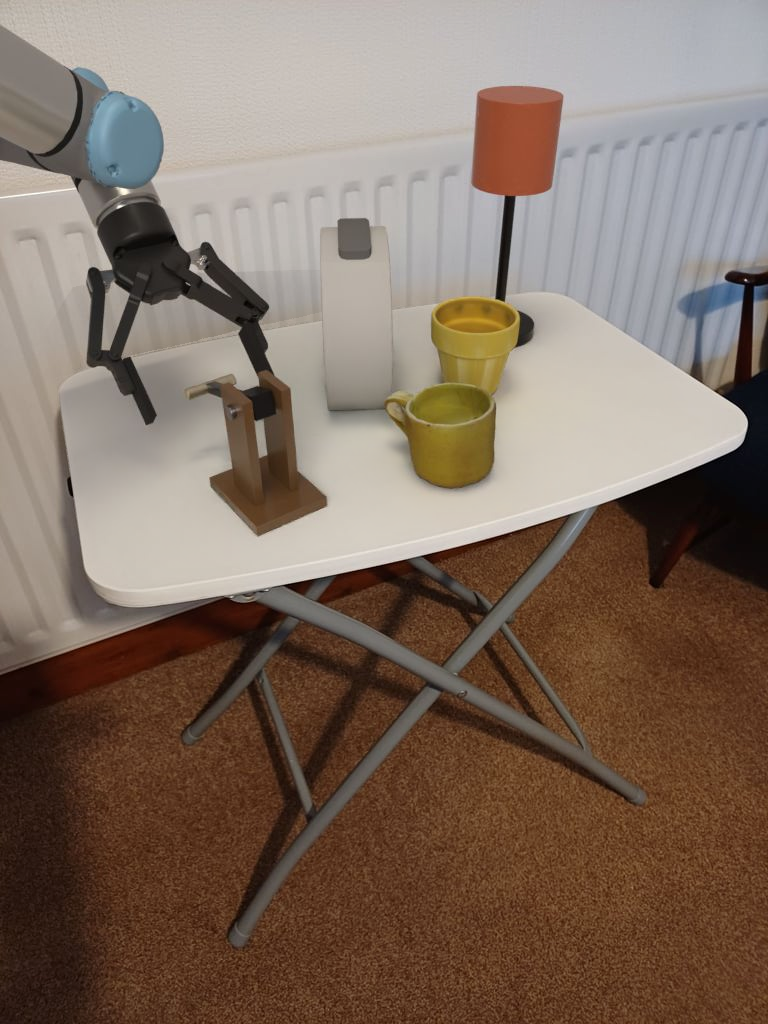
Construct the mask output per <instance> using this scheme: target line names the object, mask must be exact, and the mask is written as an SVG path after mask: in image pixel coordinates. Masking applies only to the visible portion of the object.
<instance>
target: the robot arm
mask: <svg viewBox="0 0 768 1024" xmlns="http://www.w3.org/2000/svg"><path fill="white" fill-rule="evenodd" d="M107 85H108V84H107V83H106V82H105V80H104V79H103V78H102V76H100V75H99V74H98V73H96V72H95V71H93V70H91V69H88V68H84V67H79V66H77V67H75V68H74V69H70V68H69V67H67V66H66V65H63V64H62V63H61V62H59V61H57V60H56V59H54V58H53V57H52V56H50V55H48V54H47V53H45V52H43V51H42V50H40V49H39V48H37V47H36V46H34V45H33V44H31V43H29V42H28V41H27V40H25V39H23V38H22V37H20V35H17V34H16V33H14V32H13V31H11V30H10V29H8V28H6V27H5V26H3V25H2V24H0V161H1V162H7V163H13V164H17V165H19V166H23V167H24V166H25V167H28V168H33V169H37V170H41V171H45V172H51V173H55V174H61V175H64V176H67V177H70V178H71V180H72V183H73V184H74V186H75V189H76V191H77V193H78V195H79V197H80V198H81V201H82V203H83V206H84V207H85V210H86V213H87V214H88V217H89V219H90V221H91V224H92V225H93V227H94V228H95V229H96V234H97V237H98V239H99V241H100V244H101V246H102V249H103V250H104V252H105V254H106V257H107V259H108V261H109V263H110V265H111V267H112V268H111V269H105V270H100V269H99V268H97V267H95V266H91V267H89V268H88V270H87V275H86V280H85V284H86V288H87V291H88V294H89V297H90V306H89V307H90V309H89V321H88V335H87V349H86V359H85V361H86V365H87V366H88V367H89V368H92V369H94V368H97V367H104V368H106V369H107V370H108V372H109V371H110V372H111V375H112V377H113V379H114V381H115V383H116V386H117V388H118V390H119V393H120V394H121V395H123V397H127V396H130V395H132V397H133V400H134V402H135V404H136V406H137V408H138V411H139V413H140V415H141V417H142V420H143V422H144V424H145V426H148V425H152V424H154V422H155V420H156V418H157V416H158V414H157V412H156V409H155V407H154V405H153V403H152V401H151V399H150V397H149V394H148V392H147V390H146V387H145V386H144V383H143V381H142V379H141V376H140V374H139V372H138V370H137V368H136V366H135V363H134V361H133V359H132V357H131V356H127V357H123V358H122V356H123V354H124V351H125V347H126V344H127V342H128V339H129V336H130V333H131V330H132V328H133V325H134V323H135V319H136V316H137V314H138V311H139V308H140V306H141V302H142V303H143V304H149V306H153V305H157V304H159V303H161V302H163V301H173V300H177V299H179V297H180V296H183V297H185V298H187V299H188V300H191V301H192V300H194V301H196V302H197V303H199V304H201V305H203V306H204V307H206V308H208V309H210V310H211V311H213V312H214V313H217V314H218V315H220V316H221V317H223V318H225V319H226V320H227V321H230V322H232V323H234V324H235V325H237V326H238V327H240V330H239V331H238V333H237V335H238V338H239V339H240V342H241V344H242V346H243V349H244V350H245V353H246V354H247V357H248V359H249V361H250V363H251V366H252V368H253V370H254V372H255V375H256V376H257V378H258V372H261V371H264V370H268V371H269V372H270V373H272V374H273V375H274V376H275V377H276V375H275V373H274V371H273V368H272V366H271V364H270V362H269V360H268V358H267V356H266V352H267V350H268V349H269V343H268V340H267V339H266V336H265V334H264V331H263V329H262V327H261V324H260V323H259V321H261V320H263V318H264V317H265V316H266V314H267V313H268V311H269V310H270V305H269V304H268V303H269V302H267V301H265V299H264V298H262V297H261V296H260V295H259V294H258V293H257V292H256V291H255V290H254V289H253V288H251V287H250V285H248V284H247V283H246V282H245V281H244V280H243V279H242V278H241V277H240V276H239V275H237V273H236V272H234V271H233V270H232V269H231V268H230V267H229V266H228V265H226V264H225V262H224V261H222V260H221V259H220V257H219V256H218V255H217V253H216V251H215V249H214V246H212V244H211V243H210V242H207V241H203V242H202V243H201V244H200V245H199V247H198V248H196V249H192V250H189V251H186V250H185V249H184V248H183V247H182V245H181V244H180V242H179V239H178V236H177V234H176V232H175V229H174V227H173V225H172V223H171V221H170V218H169V216H168V214H167V212H166V209H165V208H164V207H163V206H161V205H162V201H161V198H160V196H159V193H158V192H157V190H156V188H155V186H154V184H153V181H152V180H153V179H154V177H156V175H157V173H158V172H159V169H160V166H161V163H162V159H163V155H164V150H165V143H164V142H165V141H164V134H163V129H162V126H161V122H160V120H159V119H158V117H157V115H156V113H155V112H154V110H153V109H152V108H151V106H149V105H148V104H147V102H144V101H143V100H142V99H140V98H137V97H135V96H131V95H129V94H125V93H124V92H123V91H119V90H110V89H109V87H108V86H107ZM191 265H194V266H196V268H197V269H198V270H199V271H204V273H205V274H206V275H207V277H208V278H210V280H212V281H213V282H214V283H215V285H217V286H218V287H219V288H220V289H221V290H222V291H221V290H219V289H217V288H216V287H214V286H212V285H211V284H209V283H208V282H206V281H204V279H203V278H202V277H201V276H200V275H199V274H197V273H195V272H194V271H192V270H190V267H191ZM112 284H115V285H116V286H118V287H119V288H121V289H122V290H123V291H125V292H127V293H128V294H129V295H128V298H127V301H126V304H125V305H124V306H125V307H124V309H123V313H122V315H121V317H120V320H119V322H118V326H117V328H116V331H115V334H114V337H113V339H112V342H111V345H110V347H109V348H110V349H102V348H103V347H102V346H103V334H104V321H105V305H106V294H108V293H109V292H110V290H111V285H112ZM224 292H225V293H226V294H225V293H224Z"/></svg>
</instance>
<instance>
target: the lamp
mask: <svg viewBox="0 0 768 1024" xmlns="http://www.w3.org/2000/svg"><path fill="white" fill-rule="evenodd" d="M475 103H476V104H475V117H474V133H473V147H472V148H473V149H472V162H471V163H472V164H471V176H470V177H471V178H470V179H471V180H470V183H471V185H472V187H474V188H475V189H476V190H478V191H481V192H484V193H486V194H491V195H497V196H504V199H503V207H502V209H503V210H502V220H501V231H500V232H501V233H500V242H499V251H498V253H499V254H498V264H497V273H496V284H495V285H496V286H495V295H494V299H497V300H500V301H503V302H505V303H506V298H507V289H508V288H507V287H508V279H509V278H508V277H509V268H510V258H511V249H512V237H513V229H514V220H515V219H514V218H515V207H516V198H517V197H528V196H535V195H540V194H543V193H546V192H548V191H549V190H551V189H552V188H553V182H554V174H555V166H556V159H557V151H558V144H559V135H560V129H561V120H562V114H563V113H562V111H563V105H564V94H563V93H561V92H560V91H558V90H555V89H551V88H546V87H541V86H529V85H528V86H527V85H501V86H492V87H487V88H483V89H480V90H479V91H477V92H476V102H475ZM516 310H517V311H518V313H519V315H520V325H519V333H518V339H517V344H516V346H515V347H514V348H517V347H521V346H524V345H526V344H528V343H529V342H530V341H531V340H532V339H533V336H534V331H535V321H534V320H533V318H532V317H531V316H530V315H529V314H527V313H525V312H524V311H520V310H518V309H516Z"/></svg>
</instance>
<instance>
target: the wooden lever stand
mask: <svg viewBox="0 0 768 1024" xmlns="http://www.w3.org/2000/svg"><path fill="white" fill-rule="evenodd" d="M274 375H275V374H274ZM274 375H273V374H272V373H270V372H269V371H268V370H264V371H261V372H258V377H257V379H258V386H260V387H263V388H266V389H269V390H271V393H272V397H273V401H274V405H275V409H276V414H275V415H272V416H270V417H267V418H264V419H262V421H263V430H264V431H263V432H264V440H265V448H266V455H263V456H260V455H259V454H260V453H259V447H258V446H259V445H258V439H257V438H258V437H257V429H256V421H254V413H253V404H252V401H251V400H250V399H249V398H248V397H246V396H245V395H244V394H243V393H242V392H241V391H239V390H238V389H239V388H237V387H236V386H235V385H232V384H231V383H230V382H228V383H225V384H222V385H220V389H221V396H222V398H221V402H222V409H223V416H224V422H225V429H226V433H227V434H226V435H227V442H228V449H229V455H230V461H231V468H230V469H227V470H224V471H221V472H219V473H217V474H215V475H212V476H209V477H208V479H209V485H210V488H211V489H212V490H213V491H214V492H215V493H216V494H217V495H218V496H219V497H220V498H221V500H223V502H225V504H227V506H229V508H230V509H231V510H232V511H233V512H234V513H235V515H237V516H238V518H239V519H241V521H243V523H245V525H246V526H247V527H248V528H249V529H250V530H251V531H252V532H253V533H254V535H256V536H257V537H259V536H262V535H264V534H266V533H268V532H269V533H270V532H271V531H273V530H275V529H277V528H280V527H283V526H284V525H287V524H289V523H292V522H294V521H296V520H298V519H300V518H303V517H305V516H307V515H309V514H312V513H314V512H316V511H319V510H321V509H323V508H326V507H328V500H327V499H328V498H327V496H326V495H325V494H324V492H322V491H321V490H320V489H318V488H317V487H316V486H315V485H314V484H313V483H312V482H311V481H310V480H308V479H307V478H306V477H305V476H304V475H303V474H302V473H301V472H299V470H298V462H297V449H296V448H297V447H296V439H295V427H294V414H293V404H292V403H293V401H292V390H291V387H290V386H288V385H287V384H286V383H285V382H284V381H282V380H281V379H279V378H278V377H277V376H276V375H275V376H274Z"/></svg>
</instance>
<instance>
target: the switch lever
mask: <svg viewBox="0 0 768 1024" xmlns="http://www.w3.org/2000/svg"><path fill="white" fill-rule="evenodd" d="M228 382H230V383H231V384H232V385H233V386H235V385H237V379H236V377H235V375H234V374H233V373H230V374H226V375H224V376H220V377H217V378H214V379H210V380H207V381H204V382H202V383H199V384H196V385H191V386H189V387H186V388H183V393H184V396H185V399H186V400H187V401H191V400H193V399H196V398H199V397H202V396H205V395H208V394H209V395H212V396H214V397H218V398H220V399H222V396H221V389H220V385H222V384H225V383H228ZM237 389H238V390H239V391H241V392H242V393H243V394H244V395H245V396H246V397H248V398H249V399H250V400H251V401H252V404H253V413H254V421H255V422H258V421H259V422H260V421H261V420H263V419H264V418H267V417H270V416H272V415H275V414H276V409H275V405H274V401H273V397H272V393H271V390H269V389H266V388H263V387H260V386H259V385H256V386H252V387H250V388H247V389H243V390H242V389H240V388H237Z"/></svg>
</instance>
